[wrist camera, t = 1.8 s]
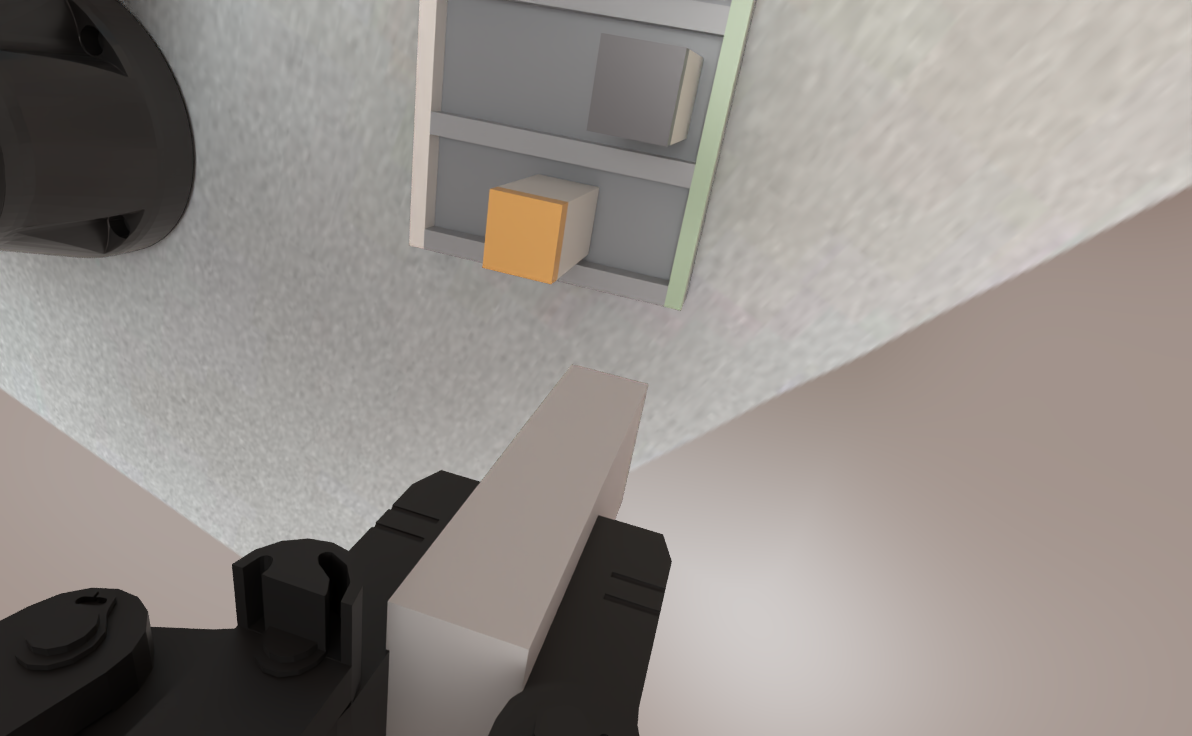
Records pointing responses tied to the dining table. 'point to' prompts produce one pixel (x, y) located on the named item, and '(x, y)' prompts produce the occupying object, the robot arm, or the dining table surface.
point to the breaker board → (568, 129)
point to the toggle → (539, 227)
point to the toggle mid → (643, 90)
